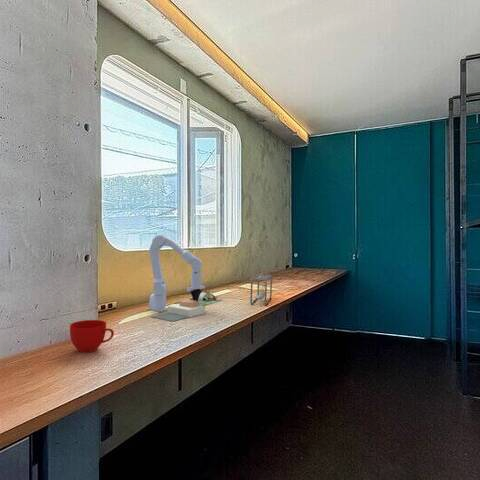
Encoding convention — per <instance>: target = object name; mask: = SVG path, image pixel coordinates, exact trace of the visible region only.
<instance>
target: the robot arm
mask: <svg viewBox="0 0 480 480" xmlns="http://www.w3.org/2000/svg"><path fill="white" fill-rule="evenodd" d="M162 247H169V248H171V249H172V250H174V251H176V253H178V254H180V258H181V259H182V260H183V261H185V262H186V263H187V264H188V265H190V266H191V281H190V286H189V287H186V292H189V293H190V295H191V298H192V297H193V300H194V301H198V299H199V296H200V294H201V292H202V293H203V291H202V290H206V285H202V265H203V261H202V260H201V259H200V258H199V257H198V256H196V255H195V254H193V253H192V251H191V250H187V249H185V250H184V249H183V248H182V247H181V246H180V245H178V243H177V242H175V241H174V240H173V239H171V238H170V237H168V236H167V235H165V234H157V235H155V237H153V239H152V240H151V244H150V247H149V249H148V251H149V258H150V261H151V268H152V275H153V287H152V288H153V289H152V292H153V293H152V294H151V295H150V296H149V301H148V302H149V304H148V308H147V309H148V310H150V311H151V310H152V311H157V312H163V311H167V292H166V291H167V289H168V286H167V284H166V282H165V278H164V277H163V270H162V266H161V259H160V253H159V251H160V250H161V249H162Z"/></svg>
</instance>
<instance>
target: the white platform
mask: <svg viewBox="0 0 480 480" xmlns="http://www.w3.org/2000/svg"><path fill="white" fill-rule="evenodd" d="M166 308H167V310H166V311H167V312H166V313H171V314H176V315H181V316H186V317H188V318H193V317H195V316H199V315H203V314H206V306H201V305H199V306H196V307H192V308H191V307H186V306H180V305H179V304H172V305H166Z"/></svg>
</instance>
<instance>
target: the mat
mask: <svg viewBox="0 0 480 480" xmlns="http://www.w3.org/2000/svg"><path fill="white" fill-rule="evenodd" d="M150 317H151V318H154V319H159V320H163V321H166V322H167V321H169V322H173V323H174V322H178V321H181V320H185V319H188V318H189V317H186V316H181V315H176V314H171V313H167V312H164V313H160V314H156V315H152V316H150Z"/></svg>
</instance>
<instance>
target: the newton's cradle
mask: <svg viewBox="0 0 480 480" xmlns="http://www.w3.org/2000/svg"><path fill="white" fill-rule="evenodd" d="M269 279H270V283H269V287H270V288H269V289H270V290H269V297H268V298H269V299H268V300H267V299H266V298H267V291H268V287H267V286H268V280H269ZM254 280H256V281H257V291H256V292H257V293H256V298H255V299H253V288H254V287H253V285H254V284H253V283H254ZM262 280H263V282H262ZM260 285H261V287H260ZM272 292H273V274H267V275H262V274H261V273H260V274H259V273H257V274H256V275H254V276H253V277H251V278H250V301H249V303H250V305H251V304H252V305H254V303H255V302H256V301H260V302H261V301H263V299H264V306H265V305H266V304H267V303H268V301H269V300H270V298H271V299H272V295H273V293H272ZM256 299H257V300H256ZM255 300H256V301H255ZM254 301H255V302H254ZM270 301H271V300H270ZM270 301H269V302H270ZM253 302H254V303H253ZM268 304H269V303H268ZM268 304H267V305H268ZM267 305H266V306H267Z"/></svg>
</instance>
